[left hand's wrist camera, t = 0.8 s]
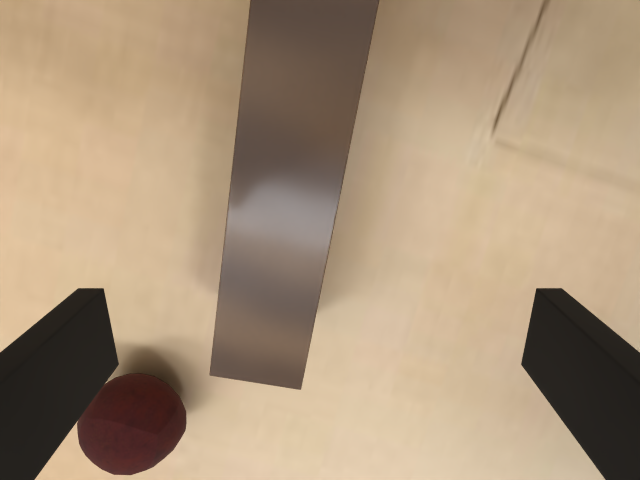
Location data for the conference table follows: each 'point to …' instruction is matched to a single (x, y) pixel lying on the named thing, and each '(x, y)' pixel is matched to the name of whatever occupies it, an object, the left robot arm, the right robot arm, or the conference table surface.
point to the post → (287, 181)
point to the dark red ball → (131, 424)
